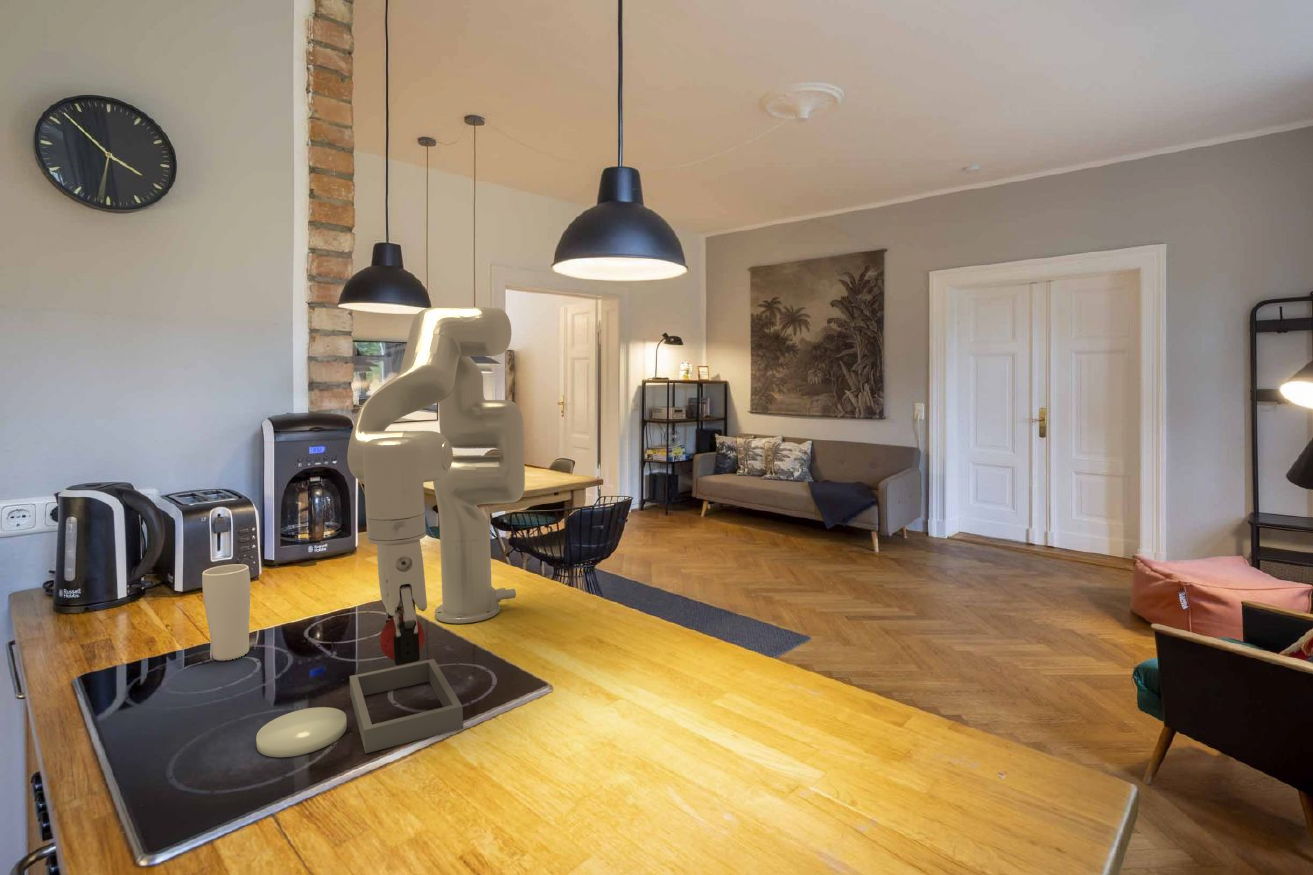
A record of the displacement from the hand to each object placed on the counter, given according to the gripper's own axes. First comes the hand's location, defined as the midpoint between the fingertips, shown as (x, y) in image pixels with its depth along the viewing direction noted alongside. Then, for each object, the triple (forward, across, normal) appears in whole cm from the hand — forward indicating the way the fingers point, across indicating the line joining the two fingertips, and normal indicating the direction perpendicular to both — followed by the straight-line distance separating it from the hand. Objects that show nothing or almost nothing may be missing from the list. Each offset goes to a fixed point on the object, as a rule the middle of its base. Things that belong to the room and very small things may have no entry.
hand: (403, 652), depth 94 cm
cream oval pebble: (+8, -1, +13) cm, 15 cm away
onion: (+2, 0, 0) cm, 2 cm away
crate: (+8, -1, 0) cm, 8 cm away
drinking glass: (+9, +35, +22) cm, 43 cm away
